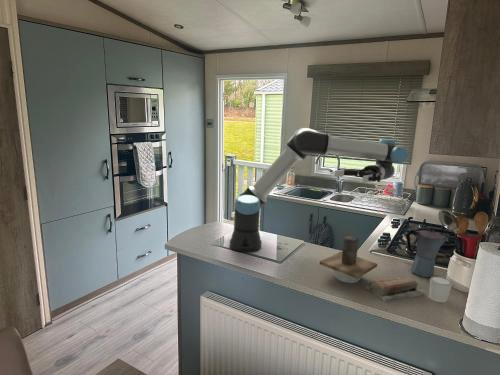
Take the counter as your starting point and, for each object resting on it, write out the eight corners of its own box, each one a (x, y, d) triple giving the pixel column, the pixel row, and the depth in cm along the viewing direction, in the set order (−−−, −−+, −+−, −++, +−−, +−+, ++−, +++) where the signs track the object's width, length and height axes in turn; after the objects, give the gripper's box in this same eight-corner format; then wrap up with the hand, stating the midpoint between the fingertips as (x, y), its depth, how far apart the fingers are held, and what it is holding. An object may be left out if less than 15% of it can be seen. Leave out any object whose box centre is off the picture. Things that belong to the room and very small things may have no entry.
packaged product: (386, 290, 118) (367, 277, 127) (384, 302, 119) (365, 289, 128) (425, 283, 124) (405, 271, 134) (423, 295, 125) (403, 283, 134)
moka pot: (444, 281, 137) (453, 233, 133) (403, 275, 140) (411, 229, 136) (437, 271, 146) (445, 226, 142) (398, 266, 149) (405, 222, 145)
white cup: (426, 299, 122) (429, 281, 120) (428, 291, 127) (431, 274, 126) (448, 306, 118) (452, 287, 117) (449, 297, 124) (452, 279, 123)
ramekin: (329, 280, 133) (330, 267, 132) (335, 269, 143) (337, 257, 142) (359, 287, 128) (361, 274, 127) (363, 275, 138) (365, 263, 137)
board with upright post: (319, 264, 135) (322, 236, 132) (340, 254, 146) (343, 228, 143) (357, 278, 124) (360, 249, 121) (377, 266, 135) (380, 239, 133)
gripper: (398, 185, 153) (375, 190, 139) (348, 176, 171) (323, 180, 156) (400, 169, 151) (377, 172, 137) (350, 161, 169) (325, 163, 155)
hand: (348, 176), depth 147 cm, fingers open, 13 cm apart
